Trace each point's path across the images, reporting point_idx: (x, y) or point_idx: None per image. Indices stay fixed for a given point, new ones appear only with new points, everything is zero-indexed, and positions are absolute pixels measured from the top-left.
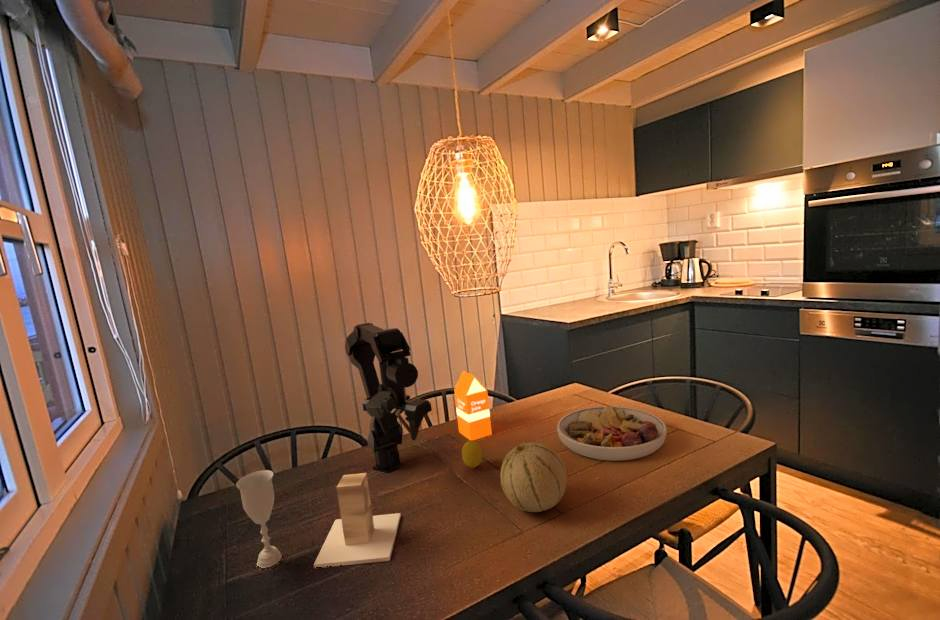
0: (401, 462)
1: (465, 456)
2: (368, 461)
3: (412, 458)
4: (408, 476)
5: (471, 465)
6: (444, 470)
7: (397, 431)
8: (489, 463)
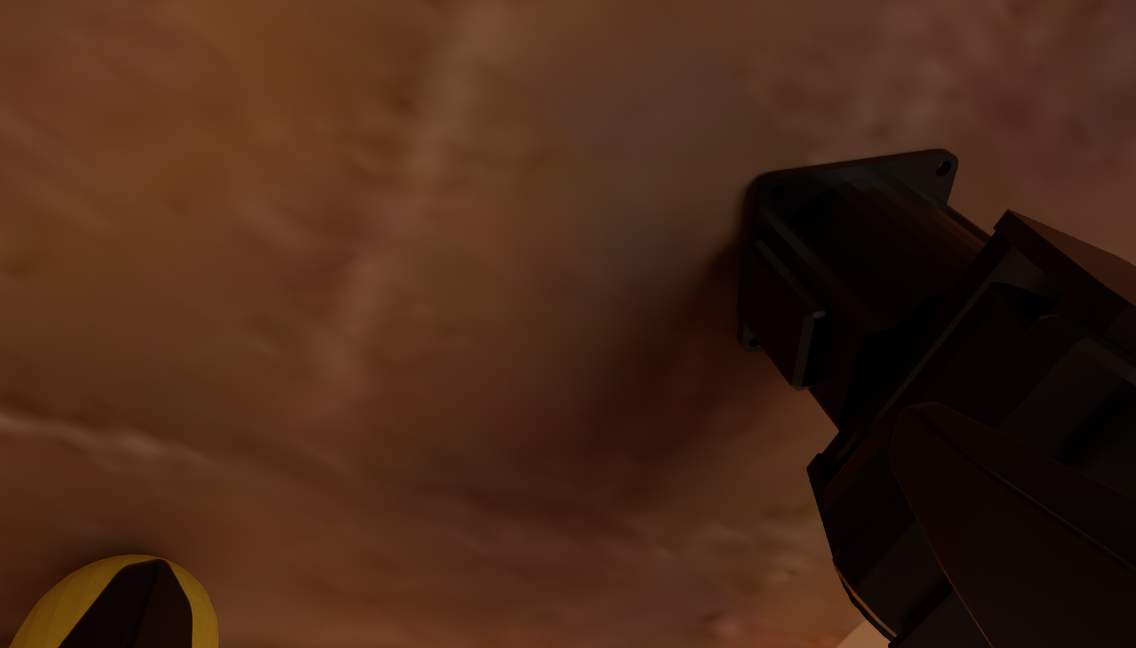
0: (745, 330)
1: None
2: (1043, 216)
3: (713, 413)
4: (545, 225)
5: (70, 574)
6: (328, 434)
7: (875, 564)
8: None
